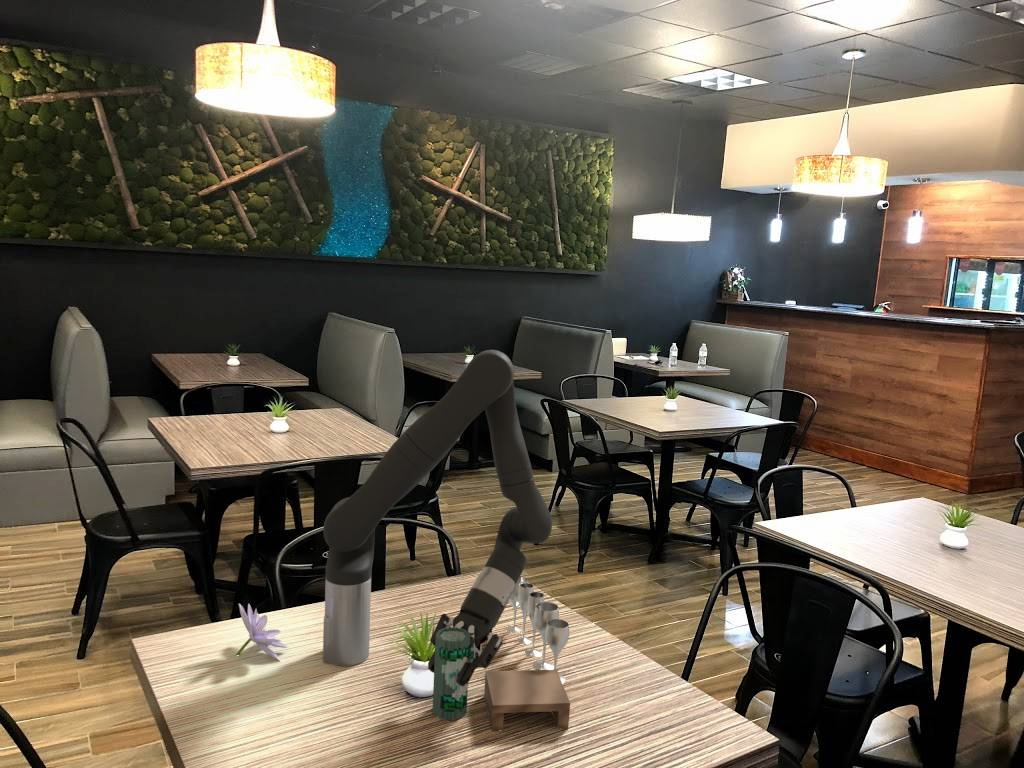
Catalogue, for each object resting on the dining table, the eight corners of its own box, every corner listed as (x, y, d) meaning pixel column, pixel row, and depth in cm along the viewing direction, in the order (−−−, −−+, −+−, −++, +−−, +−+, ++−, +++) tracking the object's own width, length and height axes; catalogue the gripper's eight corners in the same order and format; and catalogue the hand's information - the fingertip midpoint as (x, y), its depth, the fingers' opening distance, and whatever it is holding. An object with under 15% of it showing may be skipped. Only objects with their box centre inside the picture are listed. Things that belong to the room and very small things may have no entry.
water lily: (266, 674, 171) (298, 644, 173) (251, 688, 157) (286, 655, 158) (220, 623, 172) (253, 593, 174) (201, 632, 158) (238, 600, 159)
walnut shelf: (491, 731, 143) (493, 705, 142) (484, 695, 155) (485, 671, 154) (568, 728, 145) (570, 702, 144) (555, 693, 157) (556, 669, 156)
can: (448, 724, 145) (452, 645, 142) (426, 710, 149) (429, 634, 146) (472, 711, 149) (476, 635, 147) (450, 698, 153) (453, 624, 151)
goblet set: (572, 683, 161) (576, 620, 159) (545, 687, 159) (550, 624, 157) (521, 623, 187) (524, 569, 185) (498, 626, 185) (501, 571, 183)
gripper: (451, 577, 156) (407, 656, 148) (511, 598, 147) (466, 683, 140) (468, 595, 161) (425, 672, 153) (526, 616, 152) (484, 699, 145)
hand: (445, 677), depth 146 cm, fingers closed on can, 6 cm apart
